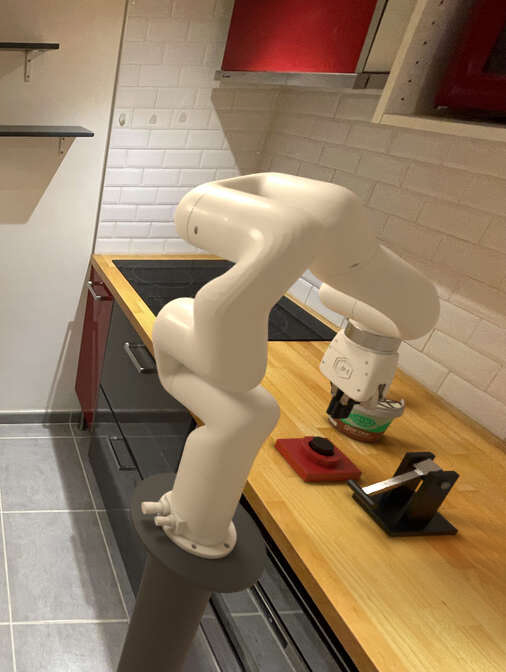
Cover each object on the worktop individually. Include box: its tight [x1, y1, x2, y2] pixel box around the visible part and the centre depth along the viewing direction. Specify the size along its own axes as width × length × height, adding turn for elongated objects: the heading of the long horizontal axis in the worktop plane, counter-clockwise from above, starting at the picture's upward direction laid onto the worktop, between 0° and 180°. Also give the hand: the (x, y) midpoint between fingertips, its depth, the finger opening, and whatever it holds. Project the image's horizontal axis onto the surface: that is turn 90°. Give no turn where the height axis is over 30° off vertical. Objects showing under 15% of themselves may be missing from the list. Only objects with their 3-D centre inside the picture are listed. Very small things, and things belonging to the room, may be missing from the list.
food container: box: [327, 397, 406, 444], centre depth 96 cm, size 12×6×10 cm, turn 65°
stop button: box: [310, 435, 335, 456], centre depth 89 cm, size 4×4×2 cm
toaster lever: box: [345, 459, 444, 510], centre depth 76 cm, size 13×5×2 cm, turn 92°
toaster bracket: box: [351, 451, 461, 538], centre depth 77 cm, size 12×8×13 cm, turn 92°
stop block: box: [274, 435, 363, 483], centre depth 90 cm, size 11×9×4 cm
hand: (336, 415), depth 86 cm, fingers closed
